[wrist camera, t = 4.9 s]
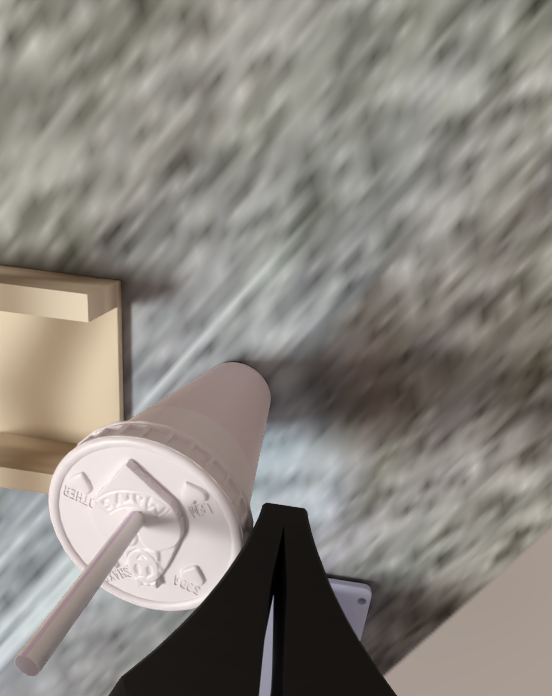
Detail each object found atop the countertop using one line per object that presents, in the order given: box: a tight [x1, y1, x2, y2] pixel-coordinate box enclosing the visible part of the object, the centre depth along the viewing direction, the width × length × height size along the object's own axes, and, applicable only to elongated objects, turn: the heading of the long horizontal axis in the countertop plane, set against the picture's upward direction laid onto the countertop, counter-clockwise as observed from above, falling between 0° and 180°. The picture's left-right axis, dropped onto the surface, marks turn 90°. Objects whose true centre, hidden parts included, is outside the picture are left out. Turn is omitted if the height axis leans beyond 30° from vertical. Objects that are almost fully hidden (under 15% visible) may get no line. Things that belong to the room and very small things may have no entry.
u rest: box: [0, 265, 124, 494], centre depth 21 cm, size 7×10×3 cm
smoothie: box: [14, 362, 271, 676], centre depth 15 cm, size 6×6×14 cm
